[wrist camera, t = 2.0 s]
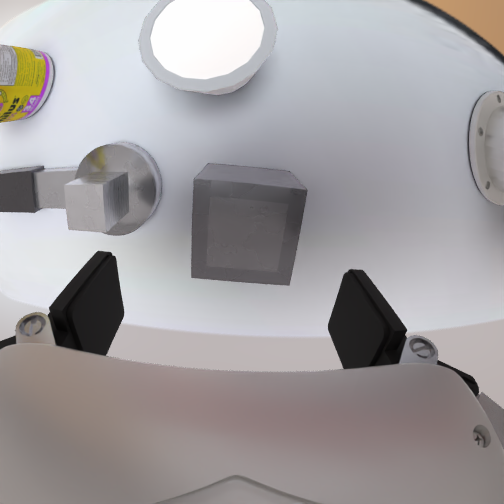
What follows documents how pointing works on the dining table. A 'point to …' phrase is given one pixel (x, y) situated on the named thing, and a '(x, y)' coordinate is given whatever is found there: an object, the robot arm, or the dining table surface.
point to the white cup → (207, 43)
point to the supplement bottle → (23, 81)
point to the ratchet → (90, 189)
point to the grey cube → (246, 224)
